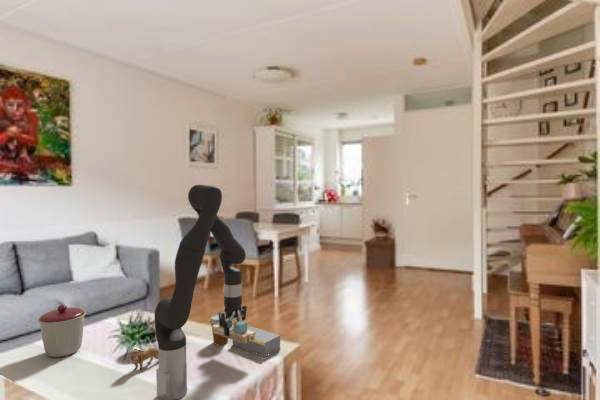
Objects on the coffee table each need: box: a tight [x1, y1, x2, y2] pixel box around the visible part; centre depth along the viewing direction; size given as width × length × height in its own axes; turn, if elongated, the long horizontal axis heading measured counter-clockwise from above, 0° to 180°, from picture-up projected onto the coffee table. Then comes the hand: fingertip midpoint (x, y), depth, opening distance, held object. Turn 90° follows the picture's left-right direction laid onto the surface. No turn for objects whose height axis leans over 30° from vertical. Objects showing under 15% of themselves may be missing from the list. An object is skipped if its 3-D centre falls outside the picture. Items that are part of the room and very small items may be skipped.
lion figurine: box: [128, 347, 159, 372], centre depth 154 cm, size 15×5×9 cm, turn 152°
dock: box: [232, 325, 281, 357], centre depth 172 cm, size 10×20×6 cm, turn 52°
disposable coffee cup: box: [209, 313, 229, 345], centre depth 177 cm, size 10×10×12 cm
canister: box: [37, 304, 87, 358], centre depth 168 cm, size 18×18×21 cm
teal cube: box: [233, 320, 248, 334], centre depth 158 cm, size 4×4×4 cm
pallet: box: [211, 323, 255, 344], centre depth 161 cm, size 6×20×3 cm, turn 52°
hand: (233, 333), depth 161 cm, fingers closed on pallet, 6 cm apart
